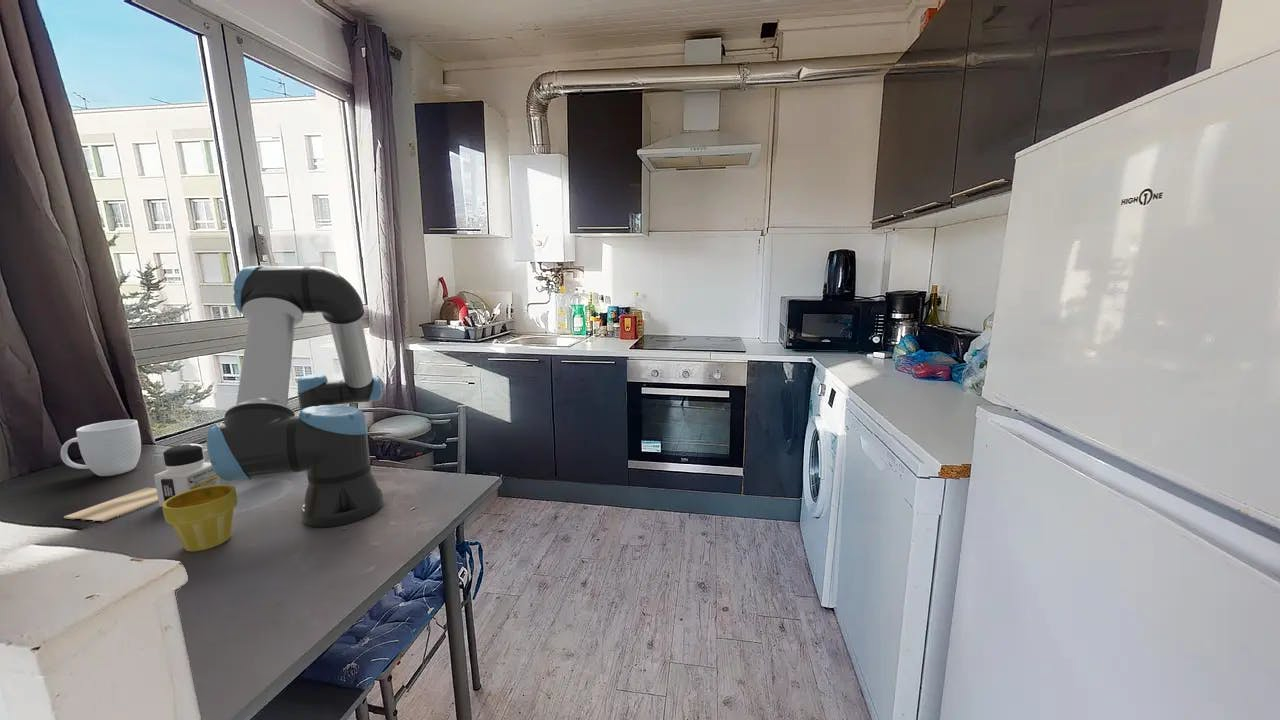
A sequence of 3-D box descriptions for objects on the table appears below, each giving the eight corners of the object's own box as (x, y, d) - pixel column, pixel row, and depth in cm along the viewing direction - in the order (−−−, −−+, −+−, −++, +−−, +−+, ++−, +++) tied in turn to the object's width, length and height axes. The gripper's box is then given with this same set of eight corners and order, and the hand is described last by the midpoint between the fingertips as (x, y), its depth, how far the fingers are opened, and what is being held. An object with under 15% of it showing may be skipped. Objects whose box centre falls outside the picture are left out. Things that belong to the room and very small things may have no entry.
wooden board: (183, 492, 114) (183, 490, 114) (103, 522, 100) (103, 520, 100) (146, 489, 116) (146, 487, 116) (63, 518, 102) (63, 516, 102)
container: (191, 507, 106) (182, 452, 104) (158, 507, 107) (148, 452, 104) (222, 492, 114) (214, 440, 112) (191, 492, 114) (182, 440, 112)
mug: (53, 486, 118) (42, 436, 116) (78, 471, 128) (68, 424, 126) (135, 474, 125) (126, 427, 123) (153, 461, 135) (145, 417, 133)
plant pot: (164, 564, 84) (155, 513, 83) (176, 540, 93) (167, 493, 91) (239, 545, 90) (232, 497, 89) (244, 524, 99) (237, 479, 97)
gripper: (327, 451, 133) (254, 481, 113) (253, 446, 138) (170, 474, 117) (324, 425, 132) (249, 451, 111) (250, 421, 137) (165, 445, 116)
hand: (208, 463), depth 114 cm, fingers open, 13 cm apart
